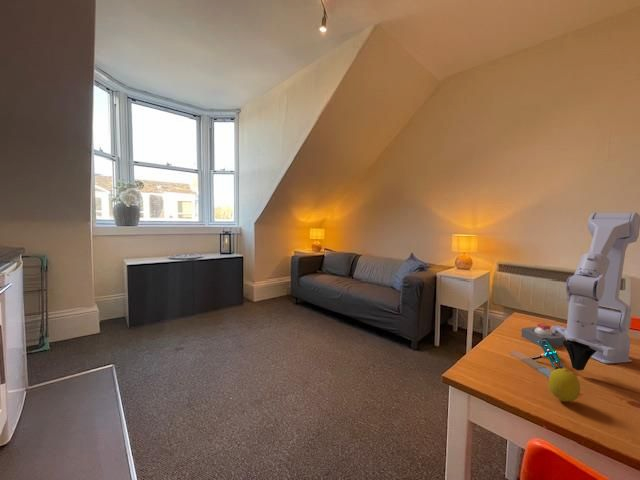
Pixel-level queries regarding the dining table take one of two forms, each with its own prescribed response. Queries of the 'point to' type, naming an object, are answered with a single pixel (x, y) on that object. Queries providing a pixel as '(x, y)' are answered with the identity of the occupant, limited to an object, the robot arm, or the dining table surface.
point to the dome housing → (542, 337)
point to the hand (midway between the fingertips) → (578, 368)
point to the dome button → (543, 329)
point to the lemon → (564, 385)
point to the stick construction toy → (549, 354)
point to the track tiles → (531, 363)
